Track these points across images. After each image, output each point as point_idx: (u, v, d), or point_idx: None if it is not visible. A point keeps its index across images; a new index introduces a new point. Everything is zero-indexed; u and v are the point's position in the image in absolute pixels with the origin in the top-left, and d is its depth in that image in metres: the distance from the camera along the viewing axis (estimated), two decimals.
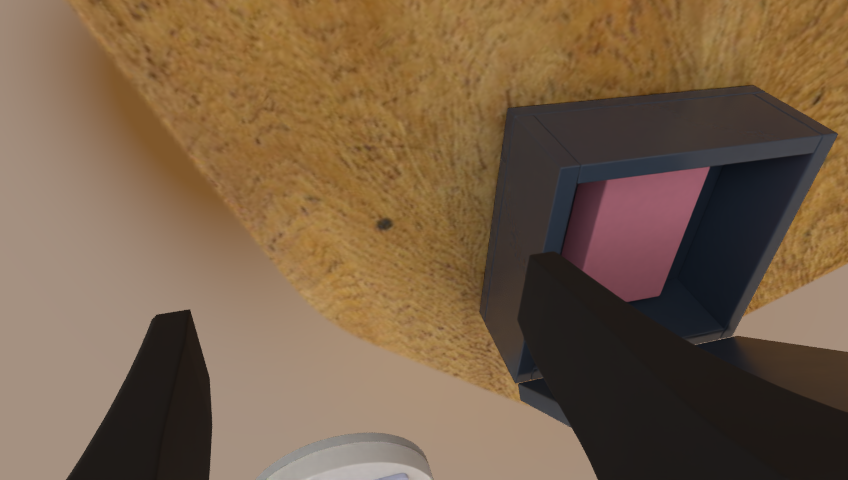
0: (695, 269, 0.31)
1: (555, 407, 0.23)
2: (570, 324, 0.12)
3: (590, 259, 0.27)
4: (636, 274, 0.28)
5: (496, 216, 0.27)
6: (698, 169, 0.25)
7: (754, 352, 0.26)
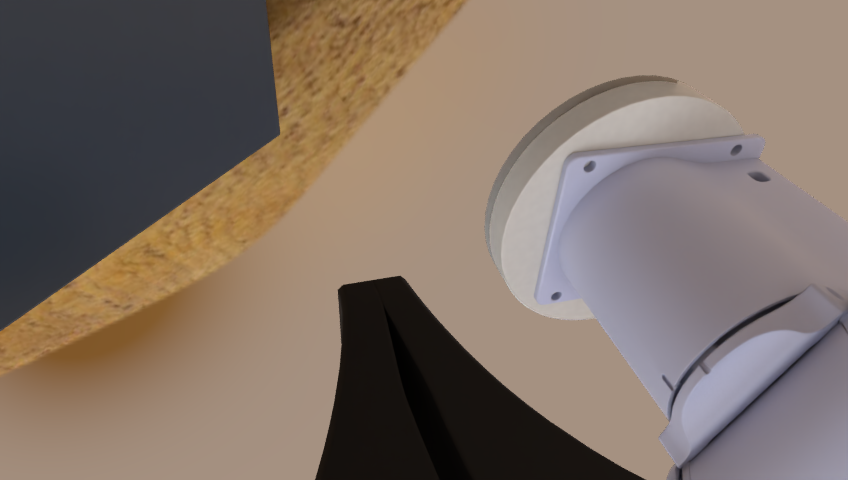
0: None
1: None
2: (398, 358, 0.11)
3: None
4: None
5: None
6: None
7: None
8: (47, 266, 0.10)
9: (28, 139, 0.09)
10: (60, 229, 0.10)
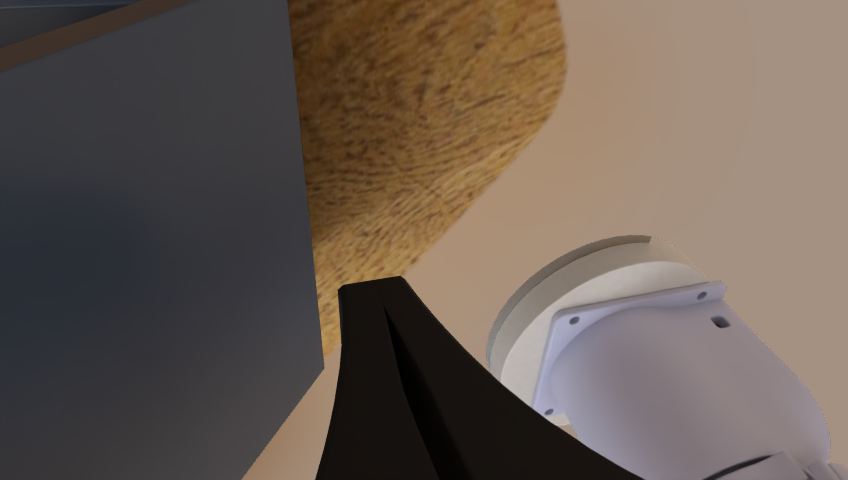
0: None
1: None
2: (398, 358, 0.11)
3: None
4: None
5: None
6: None
7: None
8: None
9: None
10: None
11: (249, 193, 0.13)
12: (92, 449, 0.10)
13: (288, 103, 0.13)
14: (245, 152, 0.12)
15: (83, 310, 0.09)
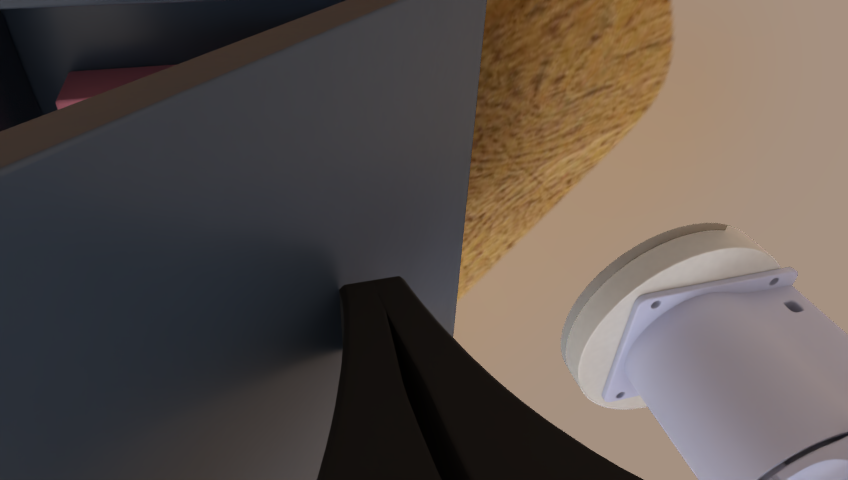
0: None
1: None
2: (397, 358, 0.11)
3: None
4: None
5: None
6: None
7: None
8: None
9: None
10: None
11: (433, 167, 0.14)
12: (299, 381, 0.12)
13: (472, 88, 0.14)
14: (437, 129, 0.13)
15: (316, 255, 0.11)
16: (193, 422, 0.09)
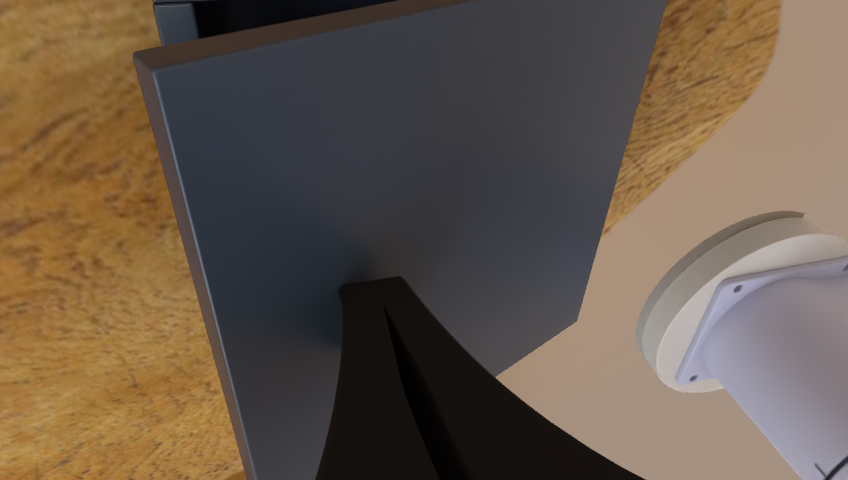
0: None
1: None
2: (398, 358, 0.11)
3: None
4: None
5: None
6: None
7: None
8: None
9: None
10: None
11: (586, 138, 0.15)
12: (432, 289, 0.14)
13: (639, 73, 0.15)
14: (597, 103, 0.15)
15: (467, 182, 0.13)
16: (348, 283, 0.12)
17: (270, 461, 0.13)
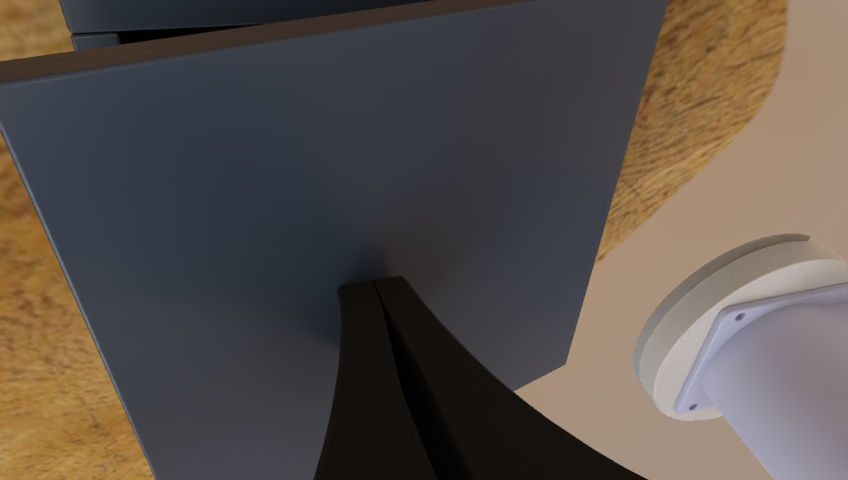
0: None
1: None
2: (399, 357, 0.11)
3: None
4: None
5: None
6: None
7: None
8: None
9: None
10: None
11: (563, 174, 0.14)
12: None
13: (629, 105, 0.14)
14: (575, 136, 0.13)
15: (408, 215, 0.12)
16: (262, 315, 0.11)
17: None
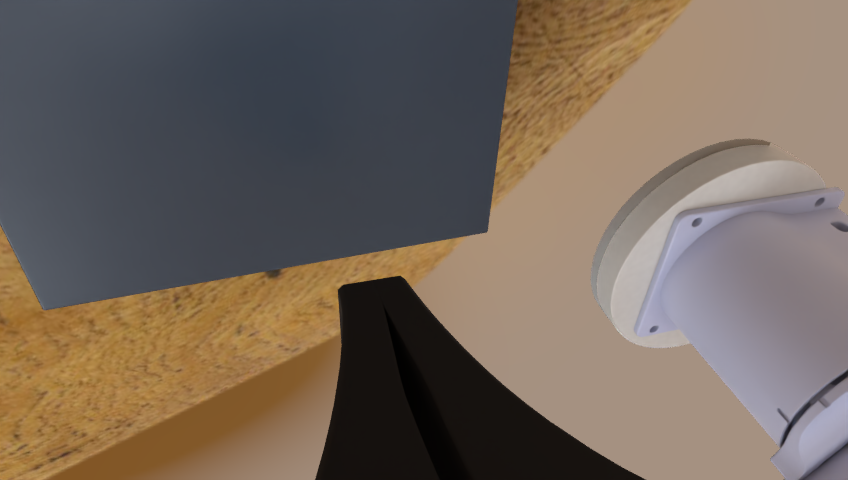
0: None
1: None
2: (397, 358, 0.11)
3: None
4: None
5: None
6: None
7: None
8: (269, 255, 0.16)
9: (279, 187, 0.15)
10: (283, 238, 0.16)
11: None
12: (212, 83, 0.13)
13: None
14: None
15: None
16: (70, 23, 0.11)
17: (18, 218, 0.13)
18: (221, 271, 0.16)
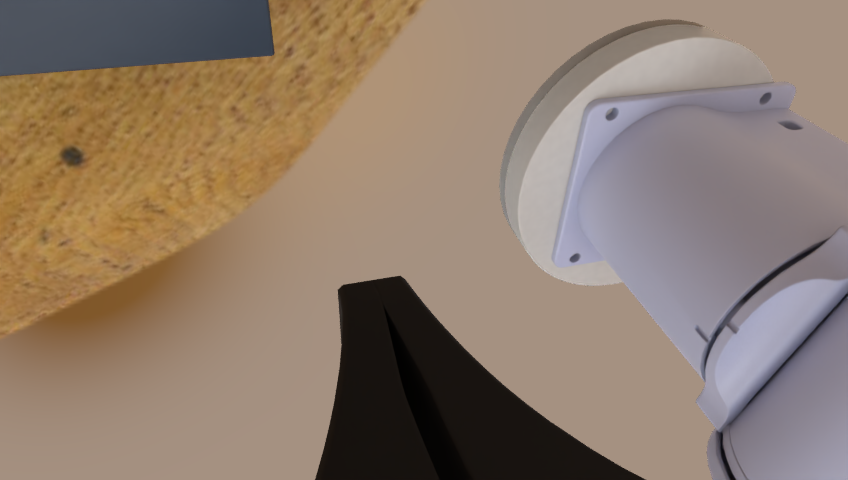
0: None
1: None
2: (398, 358, 0.11)
3: None
4: None
5: None
6: None
7: None
8: None
9: None
10: None
11: None
12: None
13: None
14: None
15: None
16: None
17: None
18: None
